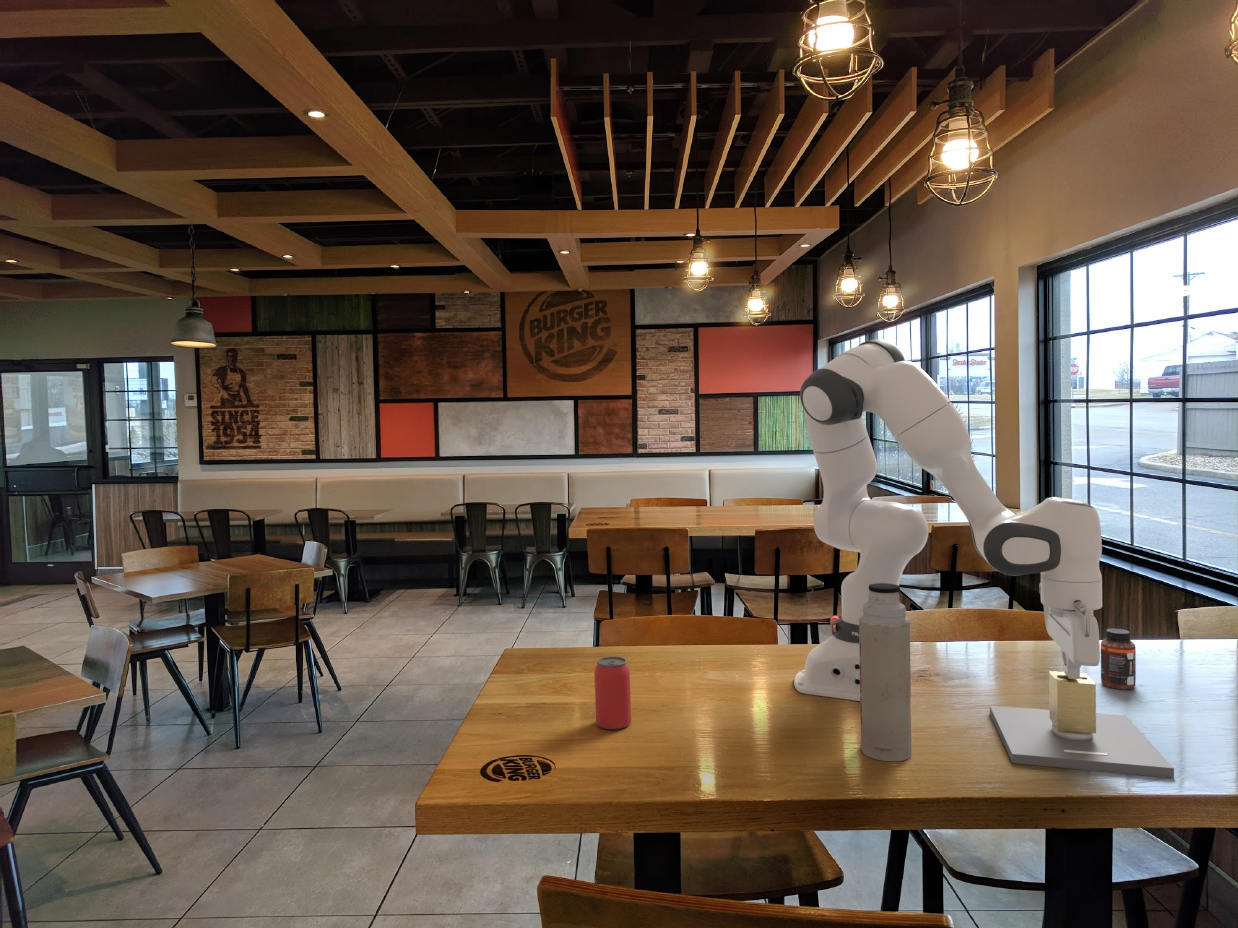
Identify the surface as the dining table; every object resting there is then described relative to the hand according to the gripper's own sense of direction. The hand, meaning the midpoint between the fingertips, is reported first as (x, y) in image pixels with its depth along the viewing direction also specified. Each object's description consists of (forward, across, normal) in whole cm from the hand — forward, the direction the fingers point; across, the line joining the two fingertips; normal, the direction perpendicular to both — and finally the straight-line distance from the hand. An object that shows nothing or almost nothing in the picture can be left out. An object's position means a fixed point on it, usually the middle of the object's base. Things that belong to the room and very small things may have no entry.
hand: (1071, 676), depth 129 cm
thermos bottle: (+11, -11, +30) cm, 34 cm away
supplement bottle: (+12, +33, -16) cm, 39 cm away
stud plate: (+11, 0, 0) cm, 11 cm away
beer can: (+11, -11, +78) cm, 79 cm away
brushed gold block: (+8, 0, 0) cm, 8 cm away
